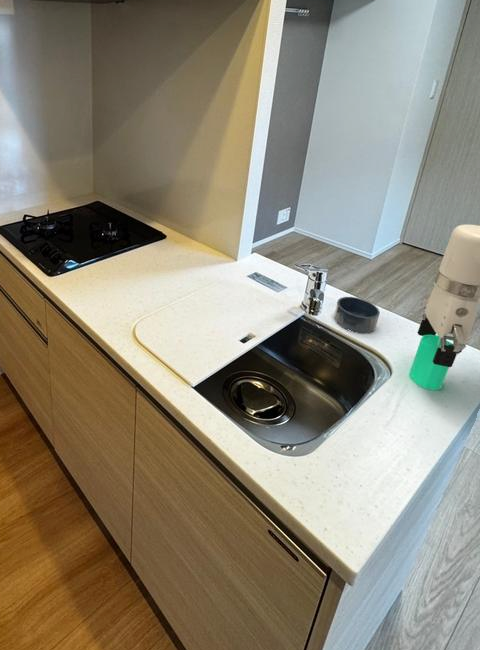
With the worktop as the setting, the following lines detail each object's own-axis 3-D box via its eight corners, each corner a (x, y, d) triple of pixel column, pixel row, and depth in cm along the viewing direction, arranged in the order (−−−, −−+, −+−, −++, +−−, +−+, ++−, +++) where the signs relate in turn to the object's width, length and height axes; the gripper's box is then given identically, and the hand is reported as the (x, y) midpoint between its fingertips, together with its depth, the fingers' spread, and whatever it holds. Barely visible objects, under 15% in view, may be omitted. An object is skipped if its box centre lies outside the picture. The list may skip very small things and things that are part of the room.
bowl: (370, 315, 116) (374, 300, 114) (379, 337, 108) (383, 321, 106) (331, 308, 120) (335, 294, 118) (337, 329, 111) (340, 313, 109)
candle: (431, 393, 90) (447, 350, 86) (403, 375, 95) (417, 333, 91) (447, 384, 93) (464, 341, 88) (419, 367, 98) (433, 325, 93)
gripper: (503, 311, 76) (471, 382, 82) (463, 266, 91) (439, 329, 97) (453, 303, 78) (426, 372, 85) (422, 260, 93) (401, 322, 100)
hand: (433, 349), depth 91 cm, fingers open, 9 cm apart
